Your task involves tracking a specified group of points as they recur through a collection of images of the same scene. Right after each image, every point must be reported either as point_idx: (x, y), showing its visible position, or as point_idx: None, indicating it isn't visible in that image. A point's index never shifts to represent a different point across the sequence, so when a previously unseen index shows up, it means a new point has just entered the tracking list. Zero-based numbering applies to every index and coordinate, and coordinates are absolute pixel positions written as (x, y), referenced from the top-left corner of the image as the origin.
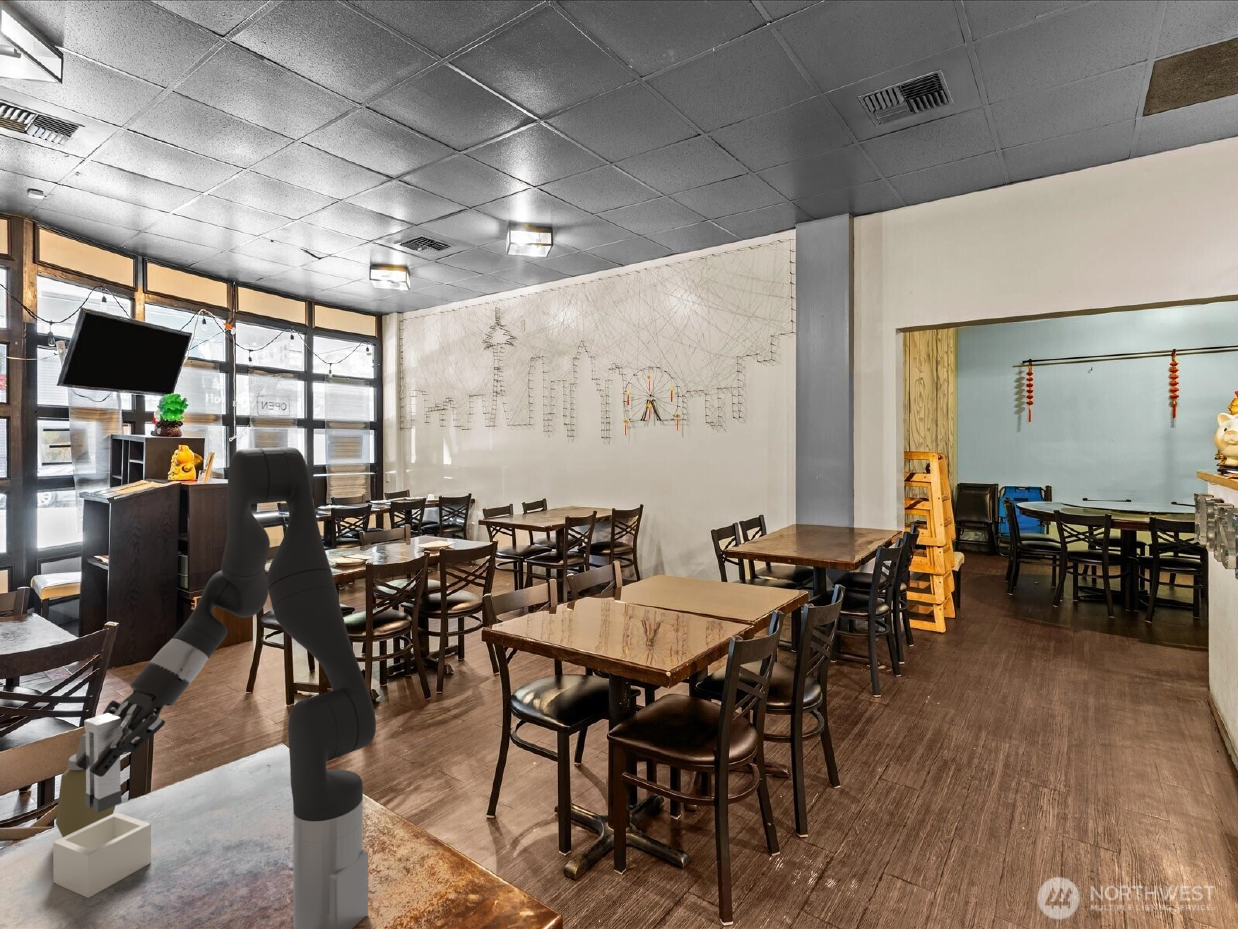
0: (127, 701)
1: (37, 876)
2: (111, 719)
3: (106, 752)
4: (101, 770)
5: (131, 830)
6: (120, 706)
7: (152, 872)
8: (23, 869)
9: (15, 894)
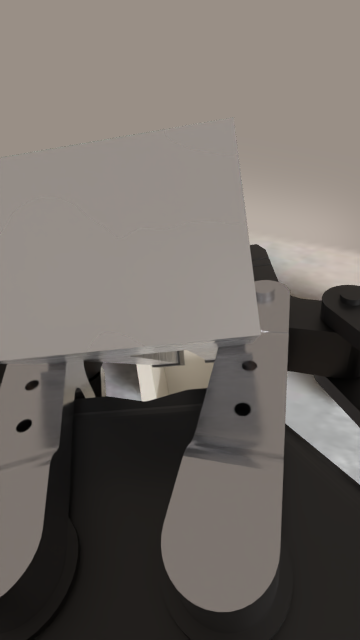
0: (216, 607)
1: (292, 276)
2: (12, 288)
3: None
4: None
5: (152, 380)
6: (274, 490)
7: (129, 395)
8: (341, 268)
9: (261, 241)
